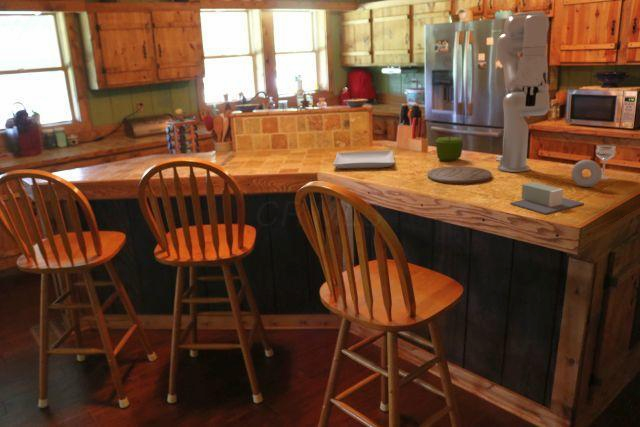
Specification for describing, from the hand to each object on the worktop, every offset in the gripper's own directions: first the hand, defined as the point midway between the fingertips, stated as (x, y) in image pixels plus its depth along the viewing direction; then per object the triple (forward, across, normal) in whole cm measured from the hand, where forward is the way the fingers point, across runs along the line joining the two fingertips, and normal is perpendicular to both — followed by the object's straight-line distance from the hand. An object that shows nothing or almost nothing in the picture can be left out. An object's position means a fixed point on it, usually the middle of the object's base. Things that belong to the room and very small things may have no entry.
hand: (530, 105), depth 190 cm
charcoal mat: (+29, +22, -14) cm, 39 cm away
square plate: (+30, -70, -26) cm, 80 cm away
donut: (+29, +15, +14) cm, 36 cm away
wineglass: (+29, +10, +31) cm, 44 cm away
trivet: (+30, -24, -10) cm, 40 cm away
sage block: (+26, +13, -14) cm, 33 cm away
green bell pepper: (+29, -51, +8) cm, 59 cm away
